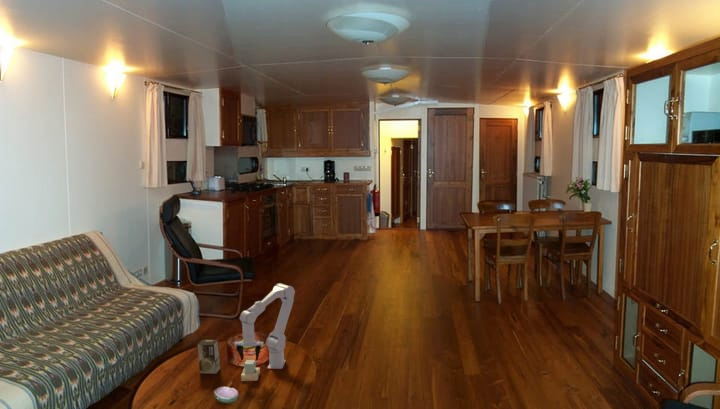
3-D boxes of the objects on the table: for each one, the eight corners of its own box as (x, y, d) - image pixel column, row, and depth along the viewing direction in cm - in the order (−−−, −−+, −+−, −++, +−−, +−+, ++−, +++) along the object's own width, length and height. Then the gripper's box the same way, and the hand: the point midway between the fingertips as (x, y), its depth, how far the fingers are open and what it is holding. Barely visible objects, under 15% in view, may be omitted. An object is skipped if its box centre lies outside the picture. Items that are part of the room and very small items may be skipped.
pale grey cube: (246, 369, 258) (246, 360, 258) (255, 369, 258) (255, 360, 257) (244, 373, 254) (244, 364, 253) (253, 373, 254) (253, 364, 253)
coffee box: (220, 368, 266) (219, 339, 264) (216, 374, 260) (214, 344, 258) (204, 367, 267) (202, 339, 265) (199, 373, 261) (197, 344, 259)
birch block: (244, 374, 260) (244, 367, 260) (259, 373, 260) (259, 367, 260) (241, 381, 252) (241, 375, 252) (257, 381, 253) (257, 374, 252)
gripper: (232, 337, 250) (233, 362, 252) (260, 337, 249) (261, 363, 251) (236, 331, 257) (237, 356, 259) (264, 332, 256) (265, 357, 258)
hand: (249, 359), depth 255 cm, fingers open, 7 cm apart
